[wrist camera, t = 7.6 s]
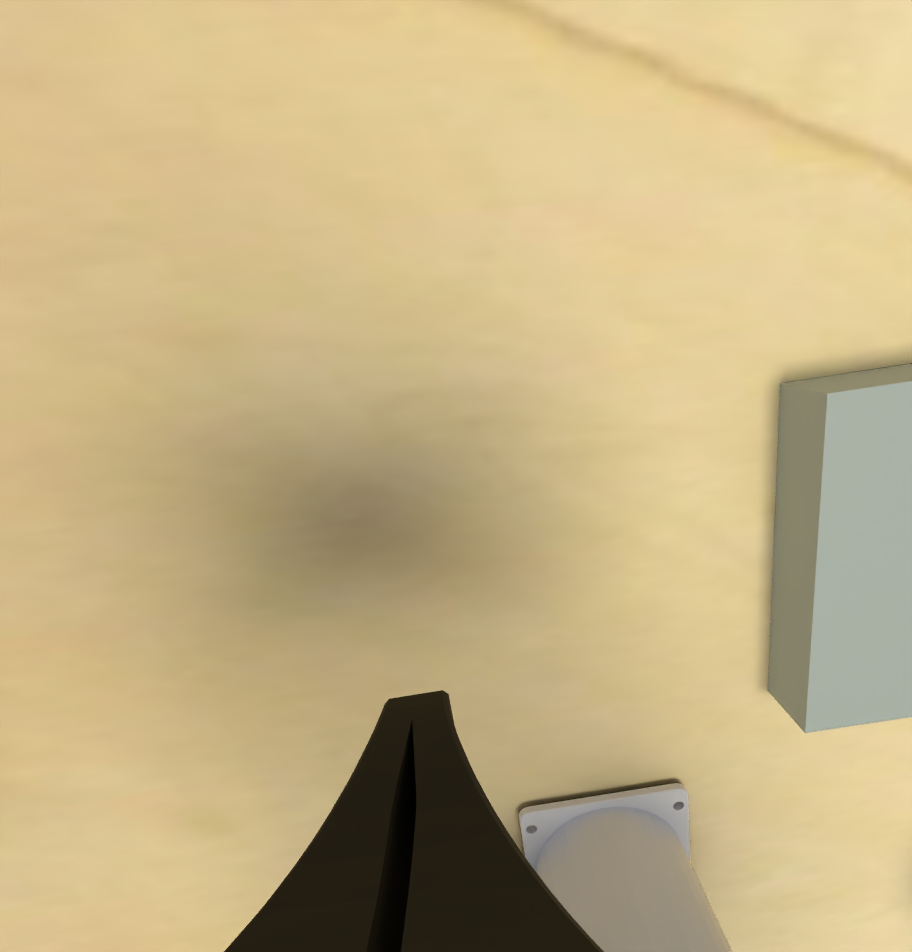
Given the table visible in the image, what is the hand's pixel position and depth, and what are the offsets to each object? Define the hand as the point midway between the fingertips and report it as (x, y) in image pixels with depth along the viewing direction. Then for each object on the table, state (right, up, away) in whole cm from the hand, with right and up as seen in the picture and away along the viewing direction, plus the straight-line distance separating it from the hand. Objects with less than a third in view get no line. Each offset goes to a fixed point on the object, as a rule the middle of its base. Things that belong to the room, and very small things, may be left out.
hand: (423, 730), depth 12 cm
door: (+18, +3, +11) cm, 21 cm away
